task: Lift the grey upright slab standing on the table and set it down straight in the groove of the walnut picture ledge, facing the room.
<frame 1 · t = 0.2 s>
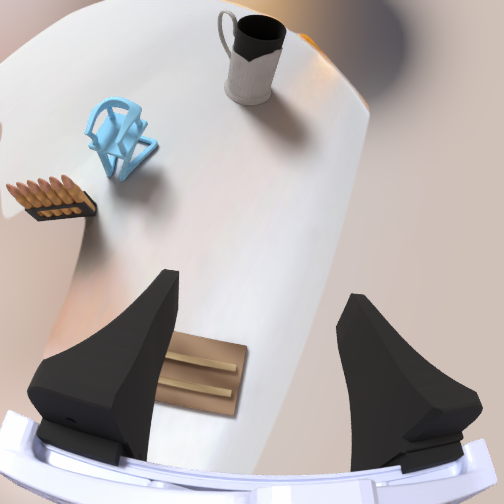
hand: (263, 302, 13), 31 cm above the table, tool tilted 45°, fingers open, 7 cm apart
picture ledge: (188, 370, 41), on the table
ammunition clip: (66, 213, 43), on the table
chair: (126, 158, 47), on the table
glass holder: (238, 80, 53), on the table
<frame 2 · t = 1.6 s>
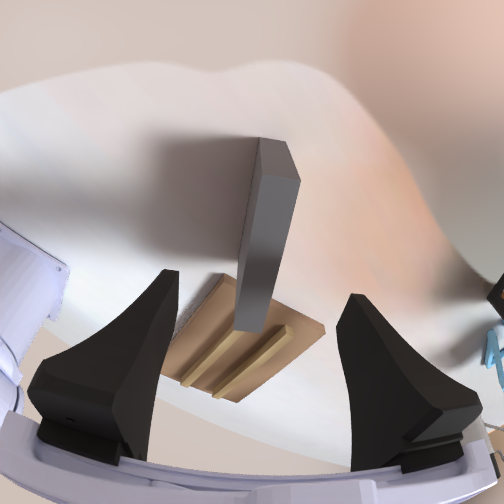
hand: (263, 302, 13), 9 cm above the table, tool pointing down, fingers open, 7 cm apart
picture ledge: (232, 348, 29), on the table
grey upright slab: (259, 204, 21), on the table
chair: (501, 336, 30), on the table
glass holder: (472, 414, 42), on the table
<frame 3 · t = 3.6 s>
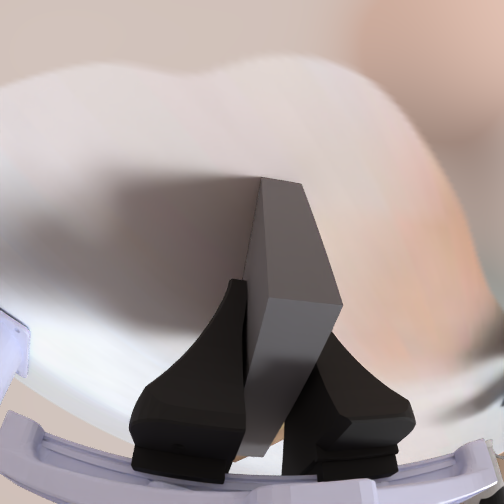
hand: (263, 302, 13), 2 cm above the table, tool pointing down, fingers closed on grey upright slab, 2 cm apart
grey upright slab: (261, 272, 15), on the table, touching gripper
glass holder: (483, 445, 36), on the table
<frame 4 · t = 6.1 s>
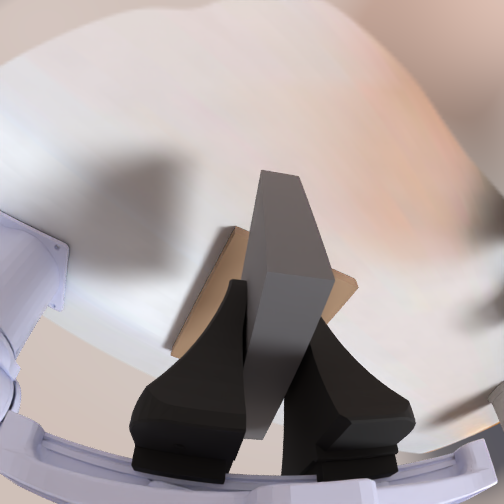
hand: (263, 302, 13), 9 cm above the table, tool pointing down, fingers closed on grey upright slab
picture ledge: (255, 318, 26), on the table
grey upright slab: (261, 261, 15), point 6 cm above the table, touching gripper
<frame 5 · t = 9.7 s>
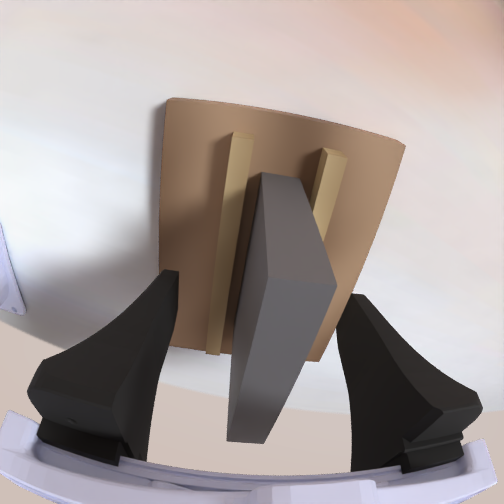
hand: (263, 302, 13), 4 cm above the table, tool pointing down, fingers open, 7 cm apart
picture ledge: (262, 252, 16), on the table
grey upright slab: (261, 264, 15), point 1 cm above the table, touching picture ledge
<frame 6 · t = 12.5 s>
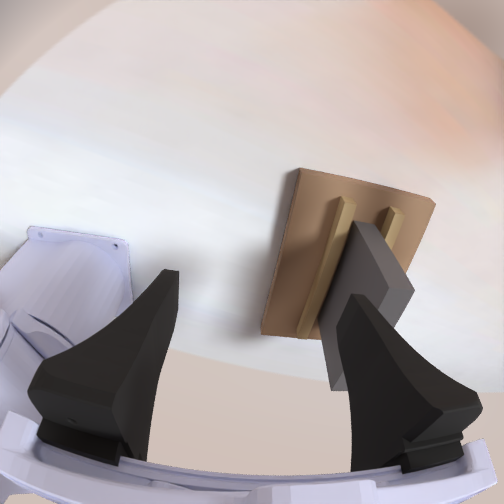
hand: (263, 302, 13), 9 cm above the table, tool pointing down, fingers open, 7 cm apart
picture ledge: (341, 268, 24), on the table
grey upright slab: (344, 276, 23), point 1 cm above the table, touching picture ledge
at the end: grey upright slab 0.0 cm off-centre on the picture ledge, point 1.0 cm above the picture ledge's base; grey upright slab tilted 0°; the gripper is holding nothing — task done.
